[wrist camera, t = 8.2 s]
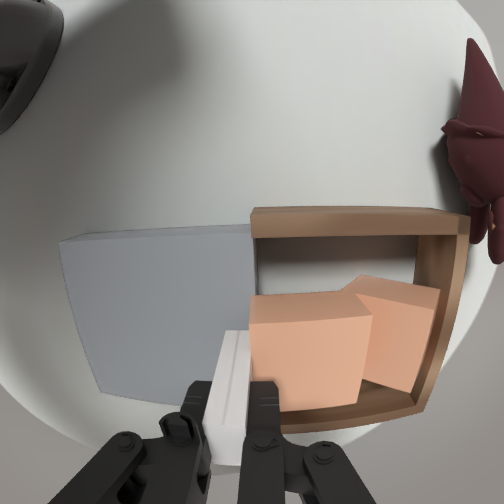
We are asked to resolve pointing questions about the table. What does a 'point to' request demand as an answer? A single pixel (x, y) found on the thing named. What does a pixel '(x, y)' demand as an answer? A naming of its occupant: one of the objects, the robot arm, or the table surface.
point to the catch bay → (426, 274)
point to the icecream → (480, 150)
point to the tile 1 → (310, 346)
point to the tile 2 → (396, 329)
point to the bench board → (158, 304)
